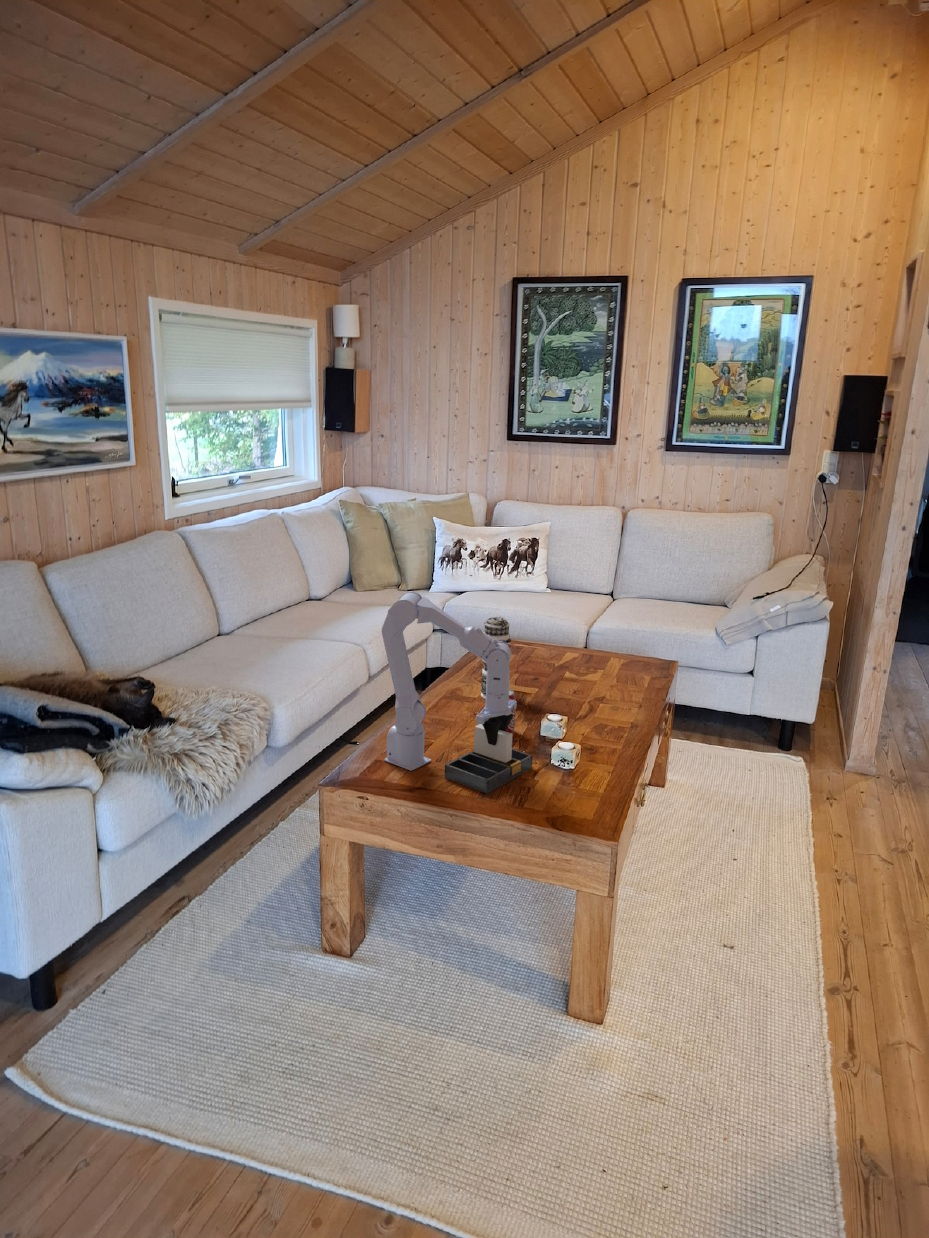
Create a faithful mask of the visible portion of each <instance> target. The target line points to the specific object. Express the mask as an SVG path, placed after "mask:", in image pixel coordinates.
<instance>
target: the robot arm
mask: <svg viewBox="0 0 929 1238" xmlns="http://www.w3.org/2000/svg"><path fill="white" fill-rule="evenodd" d="M416 620H417V621H416ZM415 621H416V623H417V624H418V625H419V624H425V623H427V624H428V623H431V624H433V625H434V626H436V627H438V628H440V629H442V630H443V631H445V632H447V633H449V634H450V635H452V636H453V637H456V638H457V639H458V641H459V645H460V646H461V647H462V648H463V649H465V650H467V651H468V652H470V653H471V654H472V655H475V656H476V657H477V658H479V659H480V660H485V662H486V665H487V667H488V670H487V675H486V699H485V704H484V705H485V706H484V707H483V709H482V710H480V712H479V713H478V714H476V715H475V723H476V724H478V725H479V724H482V725H483V727H484V729H485V732H486V736H487V740H488V744H491V745H494V746H495V745H496V743H497V738H498V731H499V730H502V731H505V732H506V730H507V727H508V725H509V723H510V721H511V720H512V718H513V714H511V713H512V711H511V709H517V705H518V704H517V703H518V701H517V700H516V701H514V700H509V689H510V680H511V679H510V676H511V674H510V663H511V658H512V650H511V647H509V646H508V645H507V644H506V643H505V642H503V641H499V640H497V639H495V640H494V639H492V638H491V637H489V636H488V635H486V634H485V633H484V631H483V628H482V627H480V626H477V627H475V626H474V625H470V626H465V625H464V624H462V623H461V622H459V621H458V620H457V619H455V618H454V617H453V616H451V615H450V614H448V613H447V612H445V611H444V610H443V609H441V608H440V607H439V606H438V605H436V604H435V603H434V602H432V601H431V600H430V599H429V598H428V597H425V596H423V597H422V595H421V594H420V593H419V592H416V591H410V590H409V591H405V592H404V593H403V594H402V595H401V596H400V597H399V598H398V599H397V600H396V601H395V602H394V603H393V604H392V605H391V606H390V607H389V609H388V610H387V613H386V617H385V620H384V621H383V625H382V627H381V635H382V639H383V644H384V649H385V653H386V658H387V663H388V667H389V671H390V677H391V680H392V681H391V682H392V685H393V689H394V695H395V706H394V710H395V718H394V725H392V726H391V727H390V728H389V730H388V733H387V735H386V757H385V758H384V761H385V762H387V763H390V764H393V765H395V766H398V767H400V768H401V769H405V770H409V771H410V772H411V771H414V770H416V769H419V768H421V767H422V766H424V765H426V764H428V763H431V762H432V759H431V758H429V757H426V756H425V734H426V733H425V730H426V729H425V726H424V723H423V720H424V719H425V717H426V714H427V708H426V706H425V704H424V703H423V701H422V700H421V697H420V694H419V692H417V691H416V686H415V682H414V677H413V673H412V667H411V665H410V658H409V655H408V650H407V646H406V641H405V636H404V631H405V630H406V628H407V627H408V626H410V625H412V623H413V622H415Z"/></svg>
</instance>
